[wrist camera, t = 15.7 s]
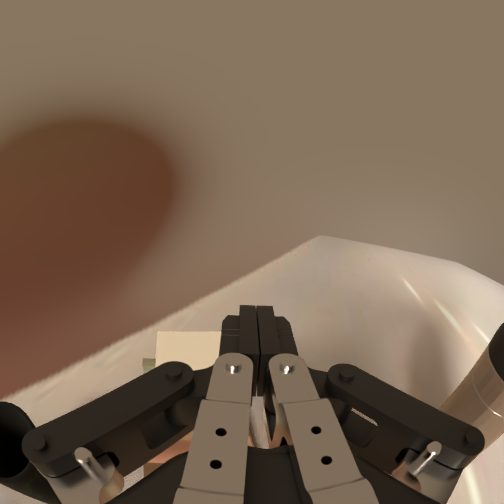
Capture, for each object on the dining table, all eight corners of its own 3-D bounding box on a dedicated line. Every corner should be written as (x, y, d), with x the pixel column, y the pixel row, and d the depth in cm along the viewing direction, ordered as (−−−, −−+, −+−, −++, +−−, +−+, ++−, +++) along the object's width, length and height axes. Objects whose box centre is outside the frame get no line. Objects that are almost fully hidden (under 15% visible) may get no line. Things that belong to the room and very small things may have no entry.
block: (225, 419, 28) (231, 374, 24) (165, 421, 26) (154, 375, 22) (219, 381, 33) (223, 331, 29) (164, 381, 31) (157, 331, 27)
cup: (45, 447, 18) (-7, 387, 13) (99, 476, 18) (51, 428, 13) (23, 492, 11) (-44, 443, 6) (78, 528, 11) (14, 501, 6)
